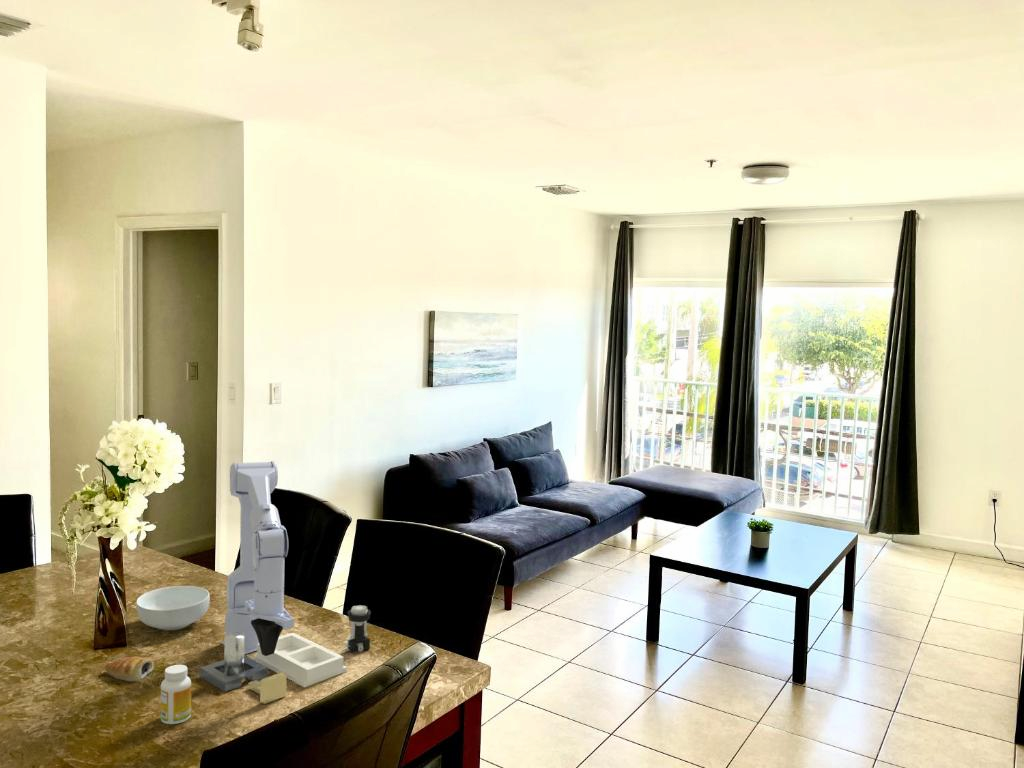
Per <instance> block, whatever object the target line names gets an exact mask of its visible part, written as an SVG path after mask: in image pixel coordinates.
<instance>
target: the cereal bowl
mask: <svg viewBox="0 0 1024 768" xmlns="http://www.w3.org/2000/svg"><path fill="white" fill-rule="evenodd" d="M210 599H211V595H210V592H209V591H208V590H207V589H206V588H203V587H199V586H194V585H173V586H167V587H159V588H157V589H154V590H149V591H148V592H145V593H143V594H142V595H140V596H139V597H138V598H137V600H136V601H135V602H136V604H135V607H136V608H135V609H136V613H137V617H138V619H139V620H140V621H141V622H142V623H143V624H145V625H146V626H148V627H151V628H155V629H159V630H162V631H178V630H182V629H185V628H187V627H189V626H190V625H191V624H192V623H195V622H197V621H199V620H200V619H201V618H202V617H203V616H204V615H205V614H206V613H207V611H208V609H209V606H210V601H211V600H210Z"/></svg>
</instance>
